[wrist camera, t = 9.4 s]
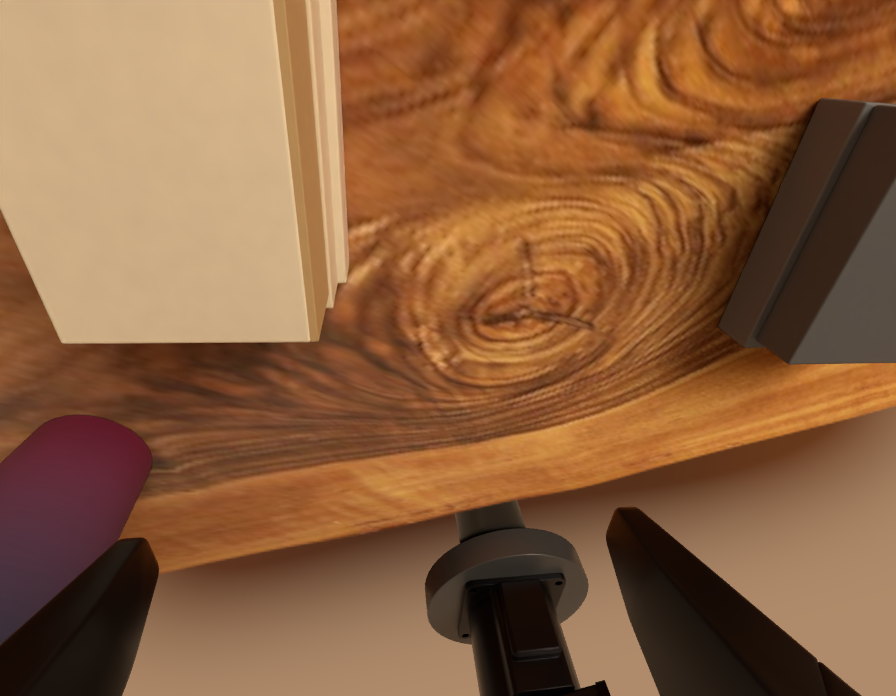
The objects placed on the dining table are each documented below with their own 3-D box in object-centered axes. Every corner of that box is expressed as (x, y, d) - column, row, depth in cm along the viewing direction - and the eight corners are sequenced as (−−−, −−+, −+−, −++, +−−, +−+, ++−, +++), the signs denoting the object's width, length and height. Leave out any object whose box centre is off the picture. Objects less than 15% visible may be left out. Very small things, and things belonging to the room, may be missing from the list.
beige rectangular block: (329, 294, 15) (318, 343, 12) (119, 292, 14) (60, 345, 11) (299, -83, 10) (271, -132, 7) (-28, -124, 9) (-188, -195, 6)
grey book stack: (846, 326, 23) (924, 371, 20) (716, 327, 22) (775, 374, 19) (980, 111, 18) (1116, 122, 15) (818, 97, 17) (926, 107, 14)
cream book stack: (349, 263, 18) (342, 308, 15) (162, 259, 17) (110, 308, 14) (333, -66, 13) (316, -110, 10) (61, -99, 12) (-64, -161, 9)
